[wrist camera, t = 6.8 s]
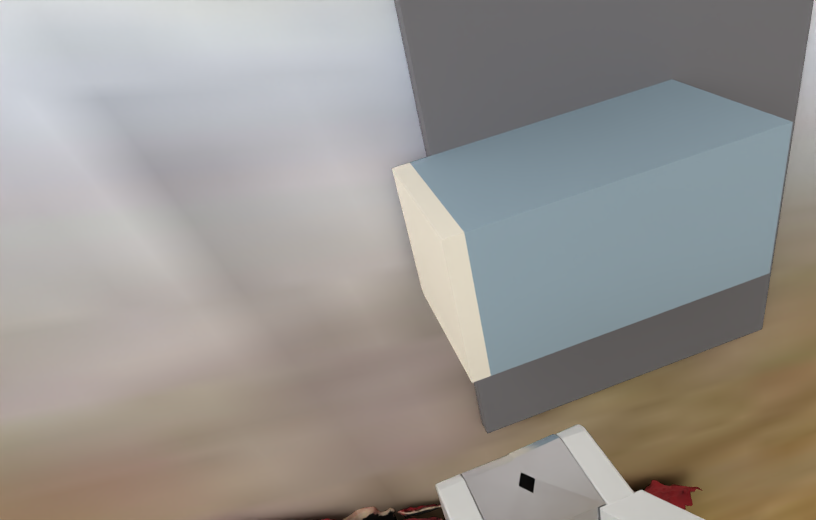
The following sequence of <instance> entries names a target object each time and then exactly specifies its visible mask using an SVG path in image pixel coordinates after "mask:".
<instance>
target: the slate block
mask: <svg viewBox="0 0 816 520" xmlns="http://www.w3.org/2000/svg"><path fill="white" fill-rule="evenodd" d="M792 124H793V122H792V121H789V120H786V119H783V118H780V117H777V116H775V115H772V114H769V113H766V112H763V111H760V110H758V109H755V108H752V107H749V106H746V105H743V104H741V103H738V102H735V101H732V100H729V99H726V98H724V97H721V96H718V95H715V94H712V93H710V92H707V91H704V90H701V89H698V88H695V87H693V86H690V85H687V84H684V83H681V82H678V81H676V80H673V79H672V80H668V81H665V82H662V83H659V84H656V85H653V86H649V87H646V88H643V89H640V90H637V91H634V92H631V93H627V94H624V95H621V96H618V97H615V98H612V99H608V100H605V101H602V102H599V103H596V104H593V105H590V106H586V107H583V108H580V109H577V110H574V111H571V112H567V113H564V114H561V115H558V116H555V117H552V118H549V119H545V120H542V121H539V122H536V123H533V124H530V125H527V126H523V127H520V128H517V129H514V130H511V131H508V132H504V133H501V134H498V135H495V136H492V137H489V138H486V139H482V140H479V141H476V142H473V143H470V144H467V145H463V146H460V147H457V148H454V149H451V150H448V151H445V152H441V153H438V154H435V155H432V156H429V157H426V158H422V159H419V160H416V161H413V162H410V163H407V164H404V165H400V166H397V167H394V168H392V171H393V175H394V179H395V183H396V187H397V191H398V195H399V199H400V203H401V207H402V211H403V215H404V219H405V223H406V227H407V231H408V235H409V239H410V243H411V247H412V251H413V255H414V260H415V264H416V268H417V272H418V276H419V280H420V284H421V288H422V292H423V294H424V296H425V298H426V299H427V301H428V303H429V305H430V307H431V309H432V310H433V312H434V314H435V316H436V318H437V320H438V321H439V323H440V325H441V327H442V329H443V331H444V332H445V334H446V336H447V338H448V340H449V342H450V343H451V345H452V347H453V349H454V351H455V353H456V354H457V356H458V358H459V360H460V362H461V364H462V365H463V367H464V369H465V371H466V373H467V375H468V377H469V378H470V380H471V382H472V383H473V382H476V381H478V380H481V379H484V378H487V377H489V376H492V375H495V374H497V373H500V372H503V371H506V370H508V369H511V368H514V367H516V366H519V365H522V364H525V363H527V362H530V361H533V360H535V359H538V358H541V357H544V356H546V355H549V354H552V353H554V352H557V351H560V350H562V349H565V348H568V347H571V346H573V345H576V344H579V343H581V342H584V341H587V340H590V339H592V338H595V337H598V336H600V335H603V334H606V333H609V332H611V331H614V330H617V329H619V328H622V327H625V326H628V325H630V324H633V323H636V322H638V321H641V320H644V319H647V318H649V317H652V316H655V315H657V314H660V313H663V312H665V311H668V310H671V309H674V308H676V307H679V306H682V305H684V304H687V303H690V302H693V301H695V300H698V299H701V298H703V297H706V296H709V295H712V294H714V293H717V292H720V291H722V290H725V289H728V288H731V287H733V286H736V285H739V284H741V283H744V282H747V281H750V280H752V279H755V278H758V277H760V276H763V275H766V274H768V273H770V267H771V261H772V254H773V248H774V241H775V235H776V228H777V222H778V215H779V209H780V202H781V196H782V189H783V183H784V176H785V170H786V163H787V157H788V150H789V144H790V137H791V131H792Z"/></svg>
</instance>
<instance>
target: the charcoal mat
mask: <svg viewBox="0 0 816 520" xmlns="http://www.w3.org/2000/svg"><path fill="white" fill-rule="evenodd" d="M813 1H814V0H394V2H395V6H396V11H397V16H398V21H399V26H400V30H401V35H402V40H403V45H404V50H405V54H406V59H407V64H408V69H409V74H410V78H411V83H412V88H413V93H414V98H415V102H416V107H417V112H418V117H419V122H420V126H421V131H422V136H423V141H424V146H425V151H426V155H427V157H429V156H432V155H435V154H438V153H441V152H445V151H448V150H451V149H454V148H457V147H460V146H463V145H467V144H470V143H473V142H476V141H479V140H482V139H486V138H489V137H492V136H495V135H498V134H501V133H504V132H508V131H511V130H514V129H517V128H520V127H523V126H527V125H530V124H533V123H536V122H539V121H542V120H545V119H549V118H552V117H555V116H558V115H561V114H564V113H567V112H571V111H574V110H577V109H580V108H583V107H586V106H590V105H593V104H596V103H599V102H602V101H605V100H608V99H612V98H615V97H618V96H621V95H624V94H627V93H631V92H634V91H637V90H640V89H643V88H646V87H649V86H653V85H656V84H659V83H662V82H665V81H668V80H672V79H673V80H676V81H678V82H681V83H684V84H687V85H690V86H693V87H695V88H698V89H701V90H704V91H707V92H710V93H712V94H715V95H718V96H721V97H724V98H726V99H729V100H732V101H735V102H738V103H741V104H743V105H746V106H749V107H752V108H755V109H758V110H760V111H763V112H766V113H769V114H772V115H775V116H777V117H780V118H783V119H786V120H789V121H792V122H793V124H792V131H791V137H790V144H789V150H788V157H787V163H786V170H785V176H784V183H783V189H782V196H781V202H780V209H779V215H778V222H777V228H776V235H775V241H774V248H773V254H772V261H771V267H770V273H768V274H766V275H763V276H760V277H758V278H755V279H752V280H750V281H747V282H744V283H741V284H739V285H736V286H733V287H731V288H728V289H725V290H722V291H720V292H717V293H714V294H712V295H709V296H706V297H703V298H701V299H698V300H695V301H693V302H690V303H687V304H684V305H682V306H679V307H676V308H674V309H671V310H668V311H665V312H663V313H660V314H657V315H655V316H652V317H649V318H647V319H644V320H641V321H638V322H636V323H633V324H630V325H628V326H625V327H622V328H619V329H617V330H614V331H611V332H609V333H606V334H603V335H600V336H598V337H595V338H592V339H590V340H587V341H584V342H581V343H579V344H576V345H573V346H571V347H568V348H565V349H562V350H560V351H557V352H554V353H552V354H549V355H546V356H544V357H541V358H538V359H535V360H533V361H530V362H527V363H525V364H522V365H519V366H516V367H514V368H511V369H508V370H506V371H503V372H500V373H497V374H495V375H492V376H489V377H487V378H484V379H481V380H478V381H476V382H474V386H475V391H476V396H477V400H478V405H479V410H480V415H481V420H482V424H483V426H484V428H485V430H486V432H487V433H490V432H493V431H495V430H498V429H501V428H503V427H506V426H508V425H511V424H514V423H516V422H519V421H522V420H524V419H527V418H529V417H532V416H535V415H537V414H540V413H543V412H545V411H548V410H551V409H553V408H556V407H558V406H561V405H564V404H566V403H569V402H572V401H574V400H577V399H579V398H582V397H585V396H587V395H590V394H593V393H595V392H598V391H601V390H603V389H606V388H608V387H611V386H614V385H616V384H619V383H622V382H624V381H627V380H629V379H632V378H635V377H637V376H640V375H643V374H645V373H648V372H651V371H653V370H656V369H658V368H661V367H664V366H666V365H669V364H672V363H674V362H677V361H679V360H682V359H685V358H687V357H690V356H693V355H695V354H698V353H701V352H703V351H706V350H708V349H711V348H714V347H716V346H719V345H722V344H724V343H727V342H729V341H732V340H735V339H737V338H740V337H743V336H745V335H748V334H750V333H753V332H756V331H758V330H761V329H762V327H763V320H764V314H765V307H766V301H767V295H768V288H769V282H770V276H771V269H772V263H773V256H774V250H775V244H776V237H777V231H778V225H779V218H780V212H781V205H782V199H783V193H784V186H785V180H786V174H787V167H788V161H789V154H790V148H791V142H792V135H793V129H794V123H795V116H796V110H797V103H798V97H799V91H800V84H801V78H802V72H803V65H804V59H805V52H806V46H807V40H808V33H809V27H810V21H811V14H812V8H813Z"/></svg>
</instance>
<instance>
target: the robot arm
mask: <svg viewBox="0 0 816 520" xmlns="http://www.w3.org/2000/svg"><path fill="white" fill-rule="evenodd" d="M435 487H436V490H437V493H438V497H439V500H440V503H441V507H442V510H443V513H444V516H445V519H446V520H705V519H703V518H701V517H698V516H696V515H694V514H692V513H690V512H688V511H686V510H684V509H682V508H679V507H677V506H675V505H673V504H671V503H669V502H667V501H665V500H662V499H660V498H658V497H656V496H654V495H652V494H650V493H648V492H646V491H643V490H639V491H636V492H634V491H633V490H632V489H631V488H630V486H629V485H628V484H627V482H626V481H625V480H624V478H623V477H622V476H621V474H620V473H619V472H618V470H617V469H616V468H615V467H614V465H613V464H612V463H611V461H610V460H609V459H608V457H607V456H606V455H605V453H604V452H603V451H602V450H601V448H600V447H599V446H598V444H597V443H596V442H595V440H594V439H593V438H592V436H591V435H590V434H589V433H588V431H587V430H586V429H585V428H584V427H583V426H581V425H575V426H573V427H570V428H568V429H566V430H564V431H561V432H559V433H557V434H555V435H554V434H552V435H550V436H548V437H545V438H543V439H541V440H539V441H536V442H534V443H532V444H529V445H527V446H525V447H523V448H520V449H518V450H516V451H514V452H511V453H509V454H508V455H506V456H504V457H501V458H499V459H496V460H494V461H491V462H489V463H486V464H484V465H481V466H479V467H476V468H474V469H471V470H469V471H467V472H464V473H462V474H461V475H460V474H458V475H456V476H454V477H451V478H449V479H446V480H444V481H442V482H439V483H437V484H436V485H435Z"/></svg>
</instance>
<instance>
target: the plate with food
mask: <svg viewBox="0 0 816 520" xmlns="http://www.w3.org/2000/svg"><path fill="white" fill-rule="evenodd" d="M696 489H699V490H701V489H700V488H698V487H687V486H680V485H675V484H673V485H671V486H666V485H663V484H661V483H659V482H658V481H656V480H652V482H651V484H650V486H647V487H646V488H645V490H644V491H646V492H648V493H650V494H652V495H654V496H656V497H658V498H660V499H662V500H665V501H667V502H669V503H671V504H673V505H675V506H677V507H679V508H682V509H684V510H685V505H686V506H692V499H691V495H690V492H694V491H695V490H696ZM701 491H702V490H701ZM634 492H636V491H634ZM440 507H441V504H438V505H437V504H432V505H427V506H423V505H422V506H419V507H415V508H412V507H409V508H407V509H402V510H400V511H398V513H399V514H402V515H403V516H404V517H405V518H406V517H409V516H414V515H419V514H423V513H427V512H430V511H433V510H435V509H437V508H440ZM441 508H442V507H441ZM394 513H395V510H394V509H393V508H389V509H388V510H387V511H385V512H380V511H378V510H377V509H376V507H366V508H362V509H358V510H356V511H355V512H354V513H353V514H351V515H350V516H348V517H347V518H344V519H342V520H397V519H396V517H395V515H394ZM323 520H330V519H328V518H326V519H323ZM332 520H334V519H332ZM405 520H442V518H438V517H430V518H422V519H417V518H410V519H405Z"/></svg>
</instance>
